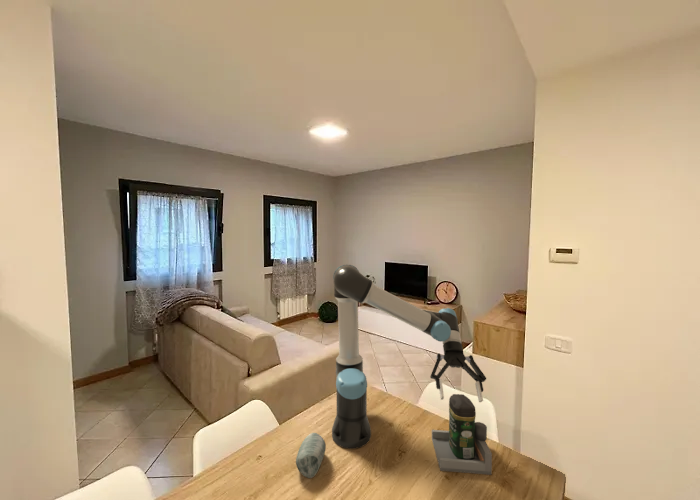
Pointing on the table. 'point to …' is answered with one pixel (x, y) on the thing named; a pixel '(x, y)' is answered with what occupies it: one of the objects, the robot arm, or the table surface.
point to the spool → (310, 455)
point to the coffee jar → (462, 426)
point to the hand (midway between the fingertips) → (461, 400)
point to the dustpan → (455, 464)
